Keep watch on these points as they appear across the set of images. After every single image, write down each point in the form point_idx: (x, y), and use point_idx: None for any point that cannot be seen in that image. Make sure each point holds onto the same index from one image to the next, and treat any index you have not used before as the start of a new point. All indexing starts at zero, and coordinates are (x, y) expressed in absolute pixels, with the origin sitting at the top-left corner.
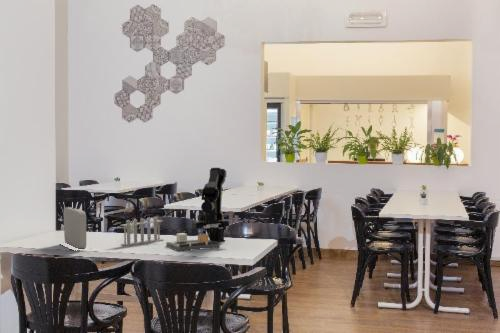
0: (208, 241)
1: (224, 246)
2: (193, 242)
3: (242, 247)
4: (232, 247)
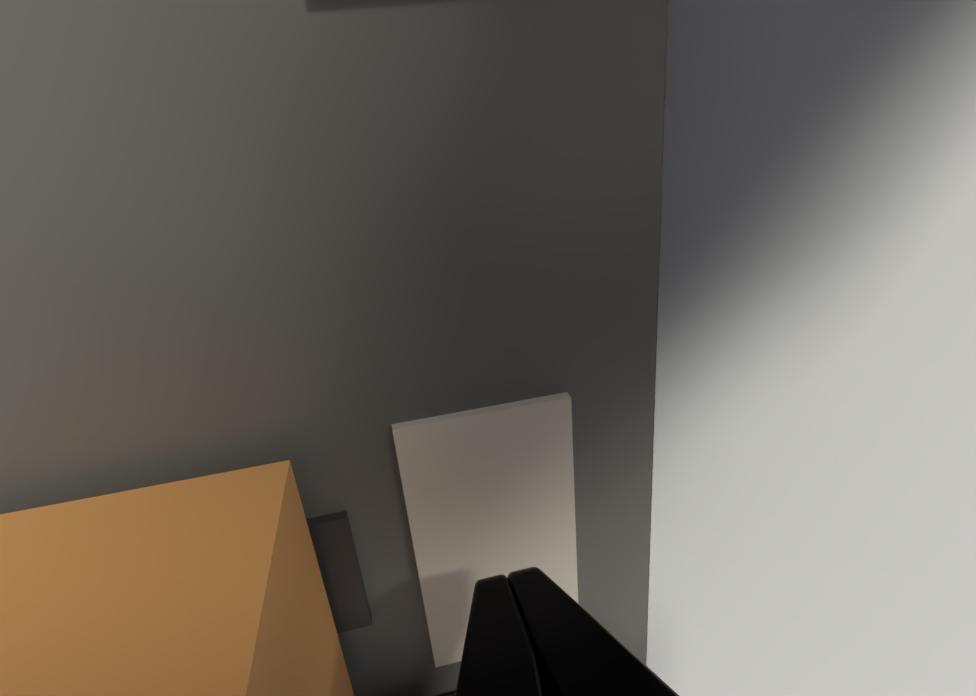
0: (506, 226)
1: (762, 514)
2: None
3: (942, 672)
4: (820, 647)
